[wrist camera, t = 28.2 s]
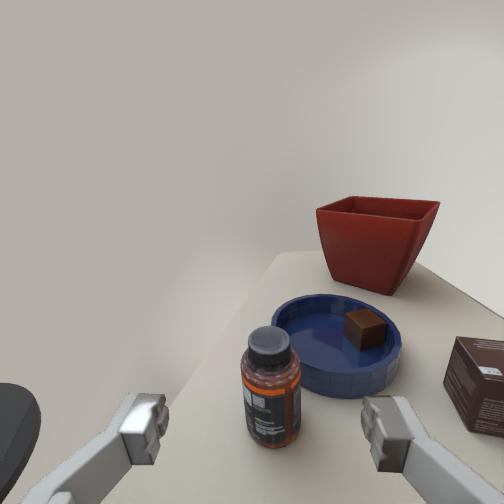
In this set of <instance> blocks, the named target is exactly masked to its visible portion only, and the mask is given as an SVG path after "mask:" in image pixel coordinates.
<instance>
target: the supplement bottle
mask: <svg viewBox="0 0 504 504" xmlns="http://www.w3.org/2000/svg"><path fill="white" fill-rule="evenodd" d="M248 346H249V348H248V349H247V350H246V351H245V352H244V354H243V356H242V359H241V376H242V385H243V395H244V404H245V415H246V422H247V427H248V430H249V432H250V434H251V436H252V437H253V439H254V440H256V441H257V442H258V443H259V444H261V445H263V446H265V447H270V448H279V447H283V446H285V445H287V444H289V443H290V442H292V440H294V439H295V437H296V436H297V434H298V431H299V428H300V421H301V366H300V360H299V357H298V355H297V353H296V351H295V350H294V349H293V348H292V347H291V346H290V338H289V335H288V334H287V333H286V332H285V331H284V330H283V329H281V328H278V327H274V326H264V327H260V328H258V329H256V330H254V331H253V332H252V333H251V334H250V336H249V339H248Z"/></svg>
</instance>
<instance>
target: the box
mask: <svg viewBox="0 0 504 504" xmlns="http://www.w3.org/2000/svg"><path fill="white" fill-rule="evenodd" d="M443 384H444V387H445V389H446V391H447V392H448V394H449V396H450V398H451V400H452V401H453V403H454V405H455V407H456V409H457V411H458V413H459V415H460V417H461V419H462V421H463V423H464V425H465V427H466V428H467V429H468V430H469V431H473V432H480V433H485V434H491V435H497V436H502V437H504V341H497V340H487V339H478V338H468V337H459V336H456V340H455V344H454V346H453V350H452V353H451V357H450V360H449V364H448V367H447V371H446V374H445V378H444V381H443Z"/></svg>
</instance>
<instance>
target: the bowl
mask: <svg viewBox="0 0 504 504" xmlns="http://www.w3.org/2000/svg"><path fill="white" fill-rule="evenodd" d="M365 308H368V309H370V310H371V311H372V312H374V313H375V314H376V315H378V316H379V317H380V318H381V319H383V320H384V321H385V322H387V325H386V331H385V338H384V344H383V346H379V347H375V348H372V349H368V350H364V351H361V352H360V351H359V350H358V349H357V348H356V347H355V346H354V345H353V344H352V343H351V342H350V341H349V340H348V339H347V338H346V337H345V336H344V335H343V333H344V322H345V313H347V312H352V311H356V310H361V309H365ZM271 326H274V327H278V328H281V329H283V330H284V331H285V332H286V333H287V334H288V335H289V338H290V346H291V347H292V348H293V349H294V350H295V351H296V353H297V355H298V357H299V360H300V366H301V386H302V387H304V388H306V389H308V390H310V391H312V392H315V393H318V394H321V395H325V396H328V397H334V398H343V399H354V398H362V397H364V396H370V395H373V394H376V393H378V392H380V391H382V390H383V389H384V388H386V387H387V386H388V385H389V384H390V383H391V381H392V380H393V378H394V376H395V374H396V370H397V367H398V363H399V357H400V352H401V347H402V343H401V336H400V332H399V331H398V329H397V327H396V326H395V324H394V323H393V322H392V321H391V320H390V319H389V318H388V317H387V316H386V315H385V314H384V313H382V312H381V311H379V310H378V309H376V308H374V307H373V306H371V305H368V304H366V303H364V302H362V301H359V300H356V299H352V298H349V297H345V296H339V295H332V294H314V295H305V296H301V297H298V298H294V299H292V300H290V301H288V302H286V303H284V304H283V305H282V306H280V307H279V308H278V309H277V310H276V312H275V313H274V315H273V317H272V321H271Z"/></svg>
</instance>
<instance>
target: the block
mask: <svg viewBox="0 0 504 504" xmlns="http://www.w3.org/2000/svg"><path fill="white" fill-rule="evenodd" d="M386 325H387V322H385V321H384V320H383V319H381V318H380V317H379V316H378V315H376V314H375V313H374V312H372V311H371V310H370V309H368V308H365V309H361V310H356V311H352V312H347V313H345V322H344V333H343V335H344V336H345V337H346V338H347V339H348V340H349V341H350V342H351V343H352V344H353V345H354V346H355V347H356V348H357V349H358V350H359V351H360V352H361V351H364V350H368V349H372V348H375V347H379V346H383V344H384V338H385V331H386Z"/></svg>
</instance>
